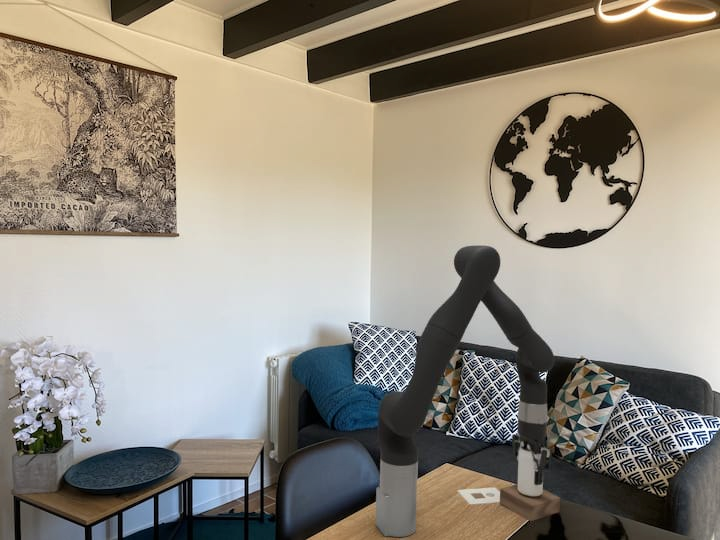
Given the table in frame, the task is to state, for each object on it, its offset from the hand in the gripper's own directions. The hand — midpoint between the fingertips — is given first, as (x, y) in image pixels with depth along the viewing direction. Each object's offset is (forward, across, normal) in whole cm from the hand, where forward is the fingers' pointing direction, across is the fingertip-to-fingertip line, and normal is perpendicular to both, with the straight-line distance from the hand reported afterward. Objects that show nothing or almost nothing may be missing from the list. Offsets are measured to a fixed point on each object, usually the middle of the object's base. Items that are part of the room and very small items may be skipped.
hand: (529, 479), depth 147 cm
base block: (+8, 0, 0) cm, 8 cm away
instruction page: (+8, -10, -8) cm, 15 cm away
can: (+4, 0, 0) cm, 4 cm away
